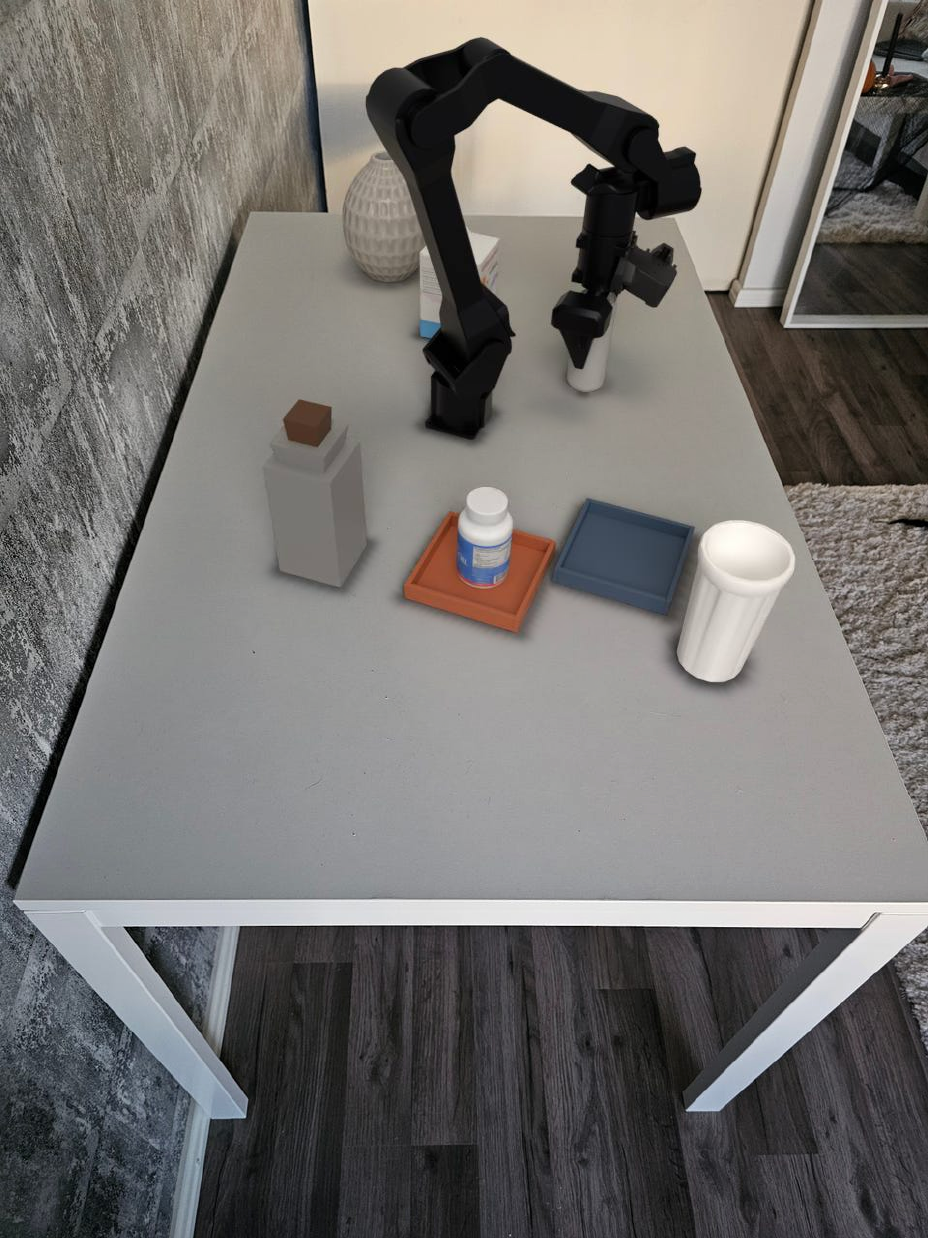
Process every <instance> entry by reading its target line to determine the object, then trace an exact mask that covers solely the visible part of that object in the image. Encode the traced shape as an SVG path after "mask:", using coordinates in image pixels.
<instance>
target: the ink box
mask: <svg viewBox="0 0 928 1238" xmlns="http://www.w3.org/2000/svg"><path fill="white" fill-rule="evenodd" d="M466 229H467V233H468V236H469V240H470V243H471V247H472V251H473V254H474V258H475V262H476V265H477V269H478V272H479V276H480V280H481V283H483V284H484V285H485V286H486V287H487V288H488V289H489V290H490V291H491V292H493V293H494V294H495V295H496V296H497V291H498V274H499V256H500V255H499V254H500V252H499V251H500V241H501V239H500V237H496V236H490V235H485V234H481V233H476V232H472V231H471V230H470V229H469V228H468V226H467V225H466ZM441 302H442V292H441V289H440V286H439V283H438V280H437V277H436V274H435V271H434V268H433V265H432V262H431V258H430V255H429V252H428V249H427V246H425V247H424V248H423V249H422V251H421V252H420V265H419V334H420V337H422V338H428V339H431V338H432V337H433V336H434V334H435V333H436V332H437V331H438V329H439V328H440V327H441V324H440V317H439V310H440V306H441Z"/></svg>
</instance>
